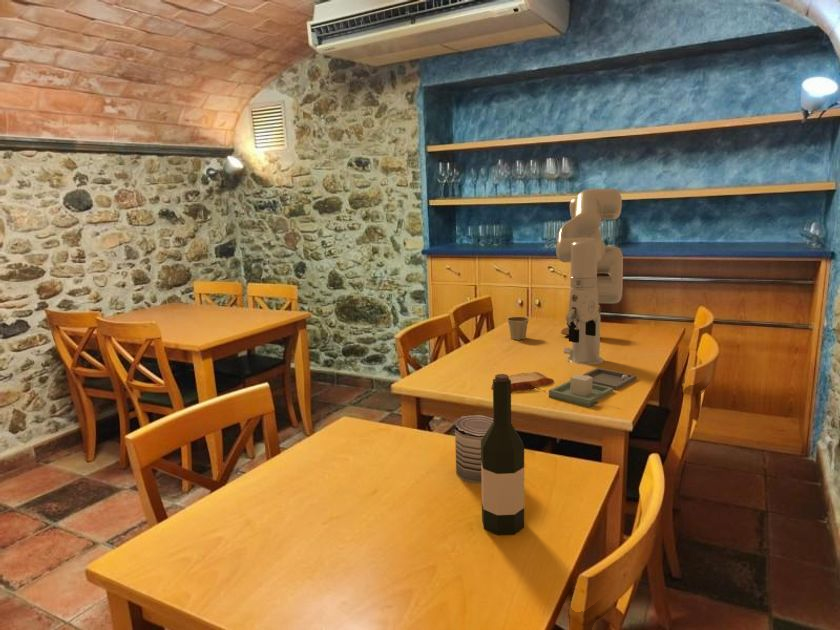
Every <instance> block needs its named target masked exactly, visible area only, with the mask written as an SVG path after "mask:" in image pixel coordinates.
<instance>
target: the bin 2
mask: <svg viewBox="0 0 840 630" xmlns="http://www.w3.org/2000/svg"><path fill="white" fill-rule="evenodd" d="M582 375H585V376H589V377H593V380H592V384H597V385H602V386H606V387H611V388H613V391H617V390H619V389H621V388H623V387H625V386H627V385H629V384H630V383H632V382H634V381H636V380H637V377H638V376H637V374H631V373H626V372H621V371H616V370H611V369H605V368H601V367H595V368H594V369H592V370H589V371H587V372H585V373H583V374H582Z"/></svg>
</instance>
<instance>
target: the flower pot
mask: <svg viewBox="0 0 840 630" xmlns="http://www.w3.org/2000/svg"><path fill="white" fill-rule="evenodd" d="M506 320H507V322H508V323H507V324H508V327H509V331H510V339H511V338H512V340H513V339H515V340H514V341H520V340H522V339H523V340H525V339H526V338H527V330H528V323H529V321H530V318H529V317H526V316H511V317H508V318H506Z"/></svg>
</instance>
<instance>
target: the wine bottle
mask: <svg viewBox="0 0 840 630" xmlns="http://www.w3.org/2000/svg"><path fill="white" fill-rule="evenodd" d="M509 376H510V375H508V374H504V373H497V374H496V375H495V376H494V378H493V379H492V384H493V391H492V418H493V423H492V425H491V426H490V428H489V429H488V431H487V432H486V434H485V435H484V437H483V439H482V440H481V481H482V483H481V522H482V525H483V530H484V531H487V532H489V533H492V534H493V535H496V536H515V535H516V534H517V533H520V531H522V529H524V528H525V445H524V443H523V440H522V438H521V437H520V435H519V433H518V432H517V430H516V429H515V427H514V425H513V423H512V391H511V380H510V379H509Z"/></svg>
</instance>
